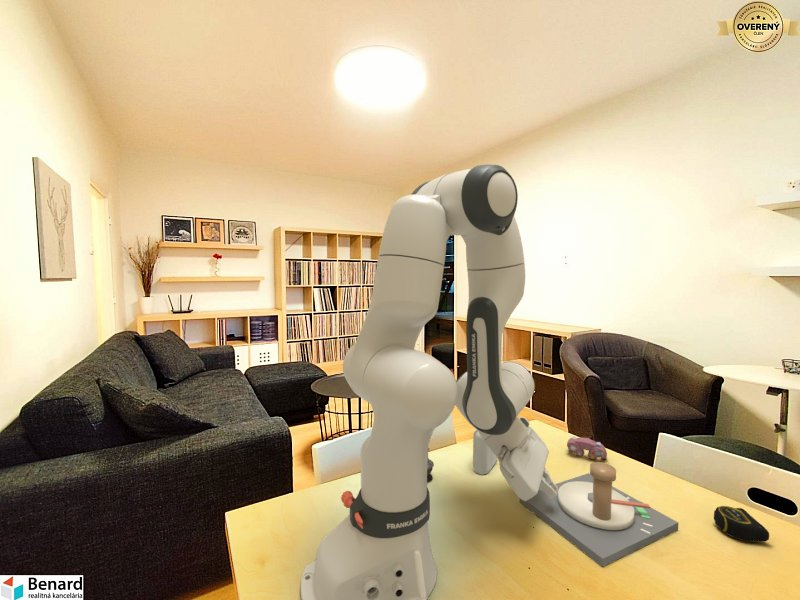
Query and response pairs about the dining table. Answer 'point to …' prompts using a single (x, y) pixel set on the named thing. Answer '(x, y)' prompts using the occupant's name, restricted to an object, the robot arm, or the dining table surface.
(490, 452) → the photo printer
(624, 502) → the tuning dial
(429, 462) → the dark grey chess piece
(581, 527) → the dial board
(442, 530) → the dining table surface
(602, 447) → the pink toy car
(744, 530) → the tape measure
